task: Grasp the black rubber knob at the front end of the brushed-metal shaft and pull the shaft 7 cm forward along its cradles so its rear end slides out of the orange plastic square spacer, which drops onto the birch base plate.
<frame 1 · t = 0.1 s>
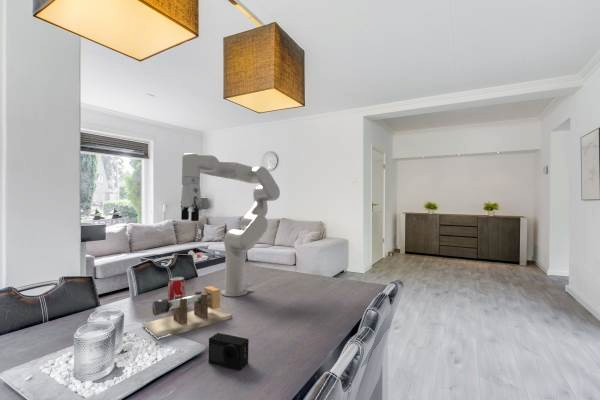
hand: (189, 220, 132), 37 cm above the table, tool pointing down, fingers open, 9 cm apart
spacer: (211, 297, 118), point 7 cm above the table, touching shaft
rig: (190, 321, 112), on the table
soda can: (176, 306, 128), on the table
shaft: (188, 300, 111), point 8 cm above the table, slide at 0.0 cm, touching spacer
digital camera: (226, 365, 83), on the table
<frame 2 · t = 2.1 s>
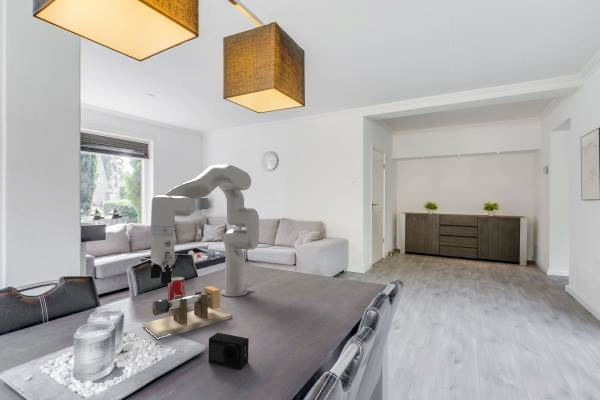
hand: (160, 280, 104), 17 cm above the table, tool pointing down, fingers open, 9 cm apart
nothing on the table moved.
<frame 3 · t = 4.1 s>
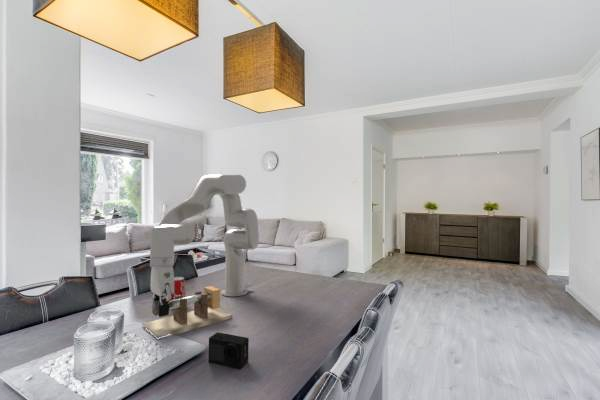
hand: (160, 313, 104), 6 cm above the table, tool pointing down, fingers closed on shaft, 4 cm apart
shaft: (188, 300, 111), point 8 cm above the table, slide at 0.0 cm, touching gripper, spacer
everything else where it was.
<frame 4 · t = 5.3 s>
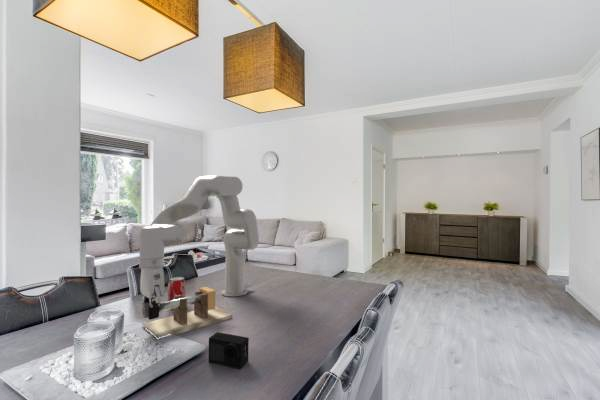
hand: (150, 315, 102), 6 cm above the table, tool pointing down, fingers closed on shaft, 4 cm apart
spacer: (207, 298, 117), point 7 cm above the table
shaft: (179, 302, 109), point 8 cm above the table, slide at 3.3 cm, touching gripper
everything else where it was.
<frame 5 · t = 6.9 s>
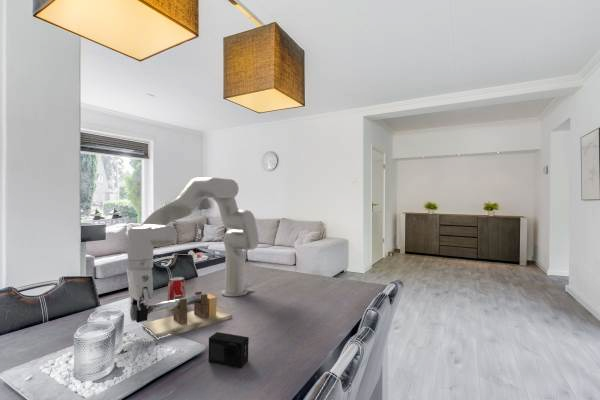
hand: (139, 318, 99), 6 cm above the table, tool pointing down, fingers closed on shaft, 4 cm apart
spacer: (208, 304, 117), point 5 cm above the table, touching rig
shaft: (169, 305, 107), point 8 cm above the table, slide at 6.9 cm, touching gripper
everything else where it was.
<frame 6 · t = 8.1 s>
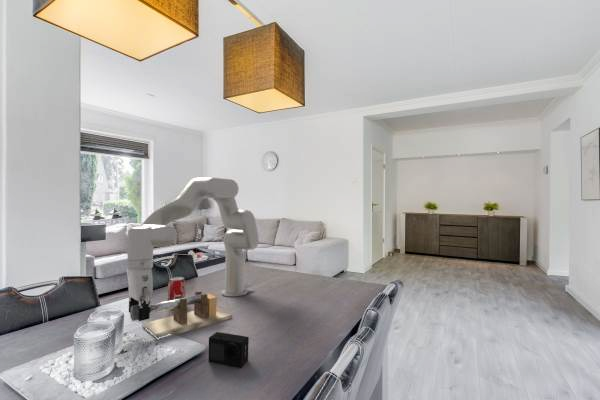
hand: (138, 315, 99), 7 cm above the table, tool pointing down, fingers open, 9 cm apart
shaft: (169, 305, 107), point 8 cm above the table, slide at 6.9 cm
everything else where it was.
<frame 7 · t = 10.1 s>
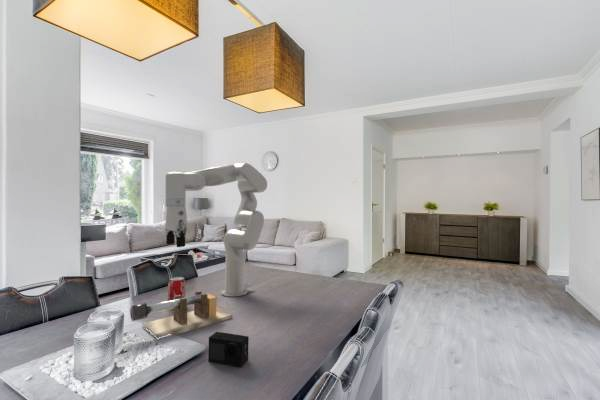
hand: (175, 245, 121), 27 cm above the table, tool pointing down, fingers open, 9 cm apart
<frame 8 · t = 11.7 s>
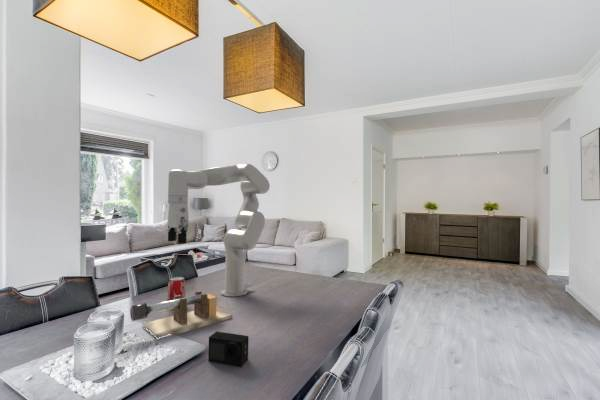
hand: (176, 242, 122), 28 cm above the table, tool pointing down, fingers open, 9 cm apart
at the end: shaft slide at 6.9 cm; spacer point 4.7 cm above the table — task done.
